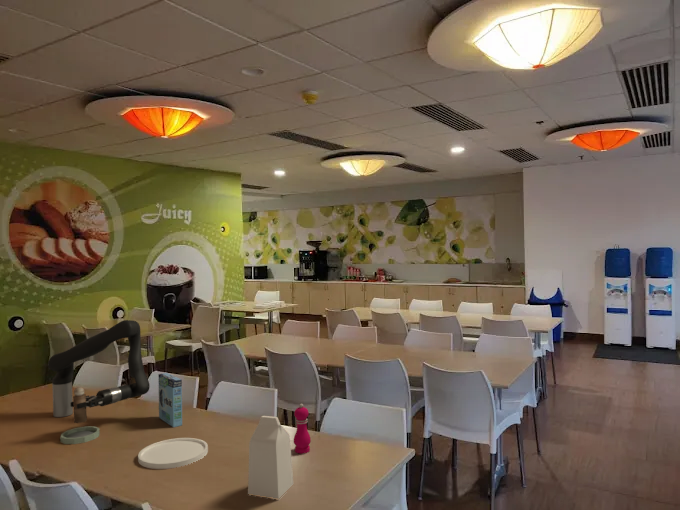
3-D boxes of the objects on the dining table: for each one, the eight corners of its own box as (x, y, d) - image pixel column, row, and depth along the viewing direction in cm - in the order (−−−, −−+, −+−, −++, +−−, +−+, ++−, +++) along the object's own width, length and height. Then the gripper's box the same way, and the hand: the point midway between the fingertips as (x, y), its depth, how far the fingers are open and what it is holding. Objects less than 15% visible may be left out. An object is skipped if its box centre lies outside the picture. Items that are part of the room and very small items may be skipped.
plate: (137, 450, 222) (136, 444, 222) (202, 439, 233) (202, 433, 233) (139, 475, 196) (139, 469, 196) (213, 461, 207) (212, 455, 207)
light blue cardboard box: (158, 418, 263) (157, 374, 263) (168, 416, 266) (167, 372, 266) (173, 427, 248) (171, 380, 248) (183, 425, 251) (182, 379, 251)
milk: (247, 495, 177) (245, 420, 177) (264, 480, 188) (262, 410, 188) (278, 500, 173) (276, 423, 173) (293, 485, 184) (291, 413, 183)
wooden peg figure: (72, 421, 237) (70, 387, 237) (83, 418, 241) (81, 385, 241) (77, 423, 234) (76, 389, 234) (88, 420, 238) (87, 386, 238)
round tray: (54, 439, 236) (54, 434, 236) (88, 429, 249) (88, 424, 249) (71, 446, 227) (71, 441, 227) (105, 435, 239) (105, 430, 239)
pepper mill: (313, 448, 217) (312, 401, 217) (307, 455, 211) (305, 406, 210) (298, 446, 220) (296, 400, 220) (291, 453, 213) (289, 405, 213)
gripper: (101, 386, 253) (66, 395, 240) (116, 390, 245) (81, 399, 231) (101, 401, 253) (66, 411, 240) (117, 406, 245) (82, 416, 231)
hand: (74, 405), depth 236 cm, fingers closed on wooden peg figure, 5 cm apart
